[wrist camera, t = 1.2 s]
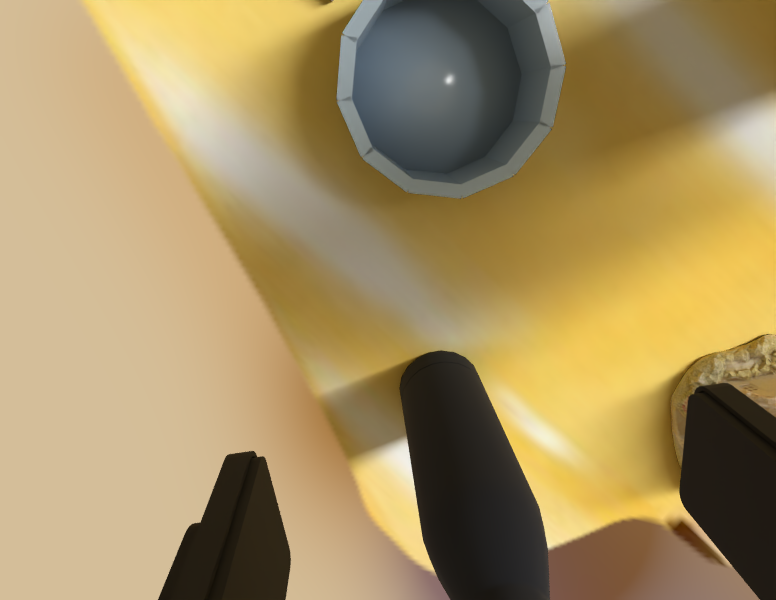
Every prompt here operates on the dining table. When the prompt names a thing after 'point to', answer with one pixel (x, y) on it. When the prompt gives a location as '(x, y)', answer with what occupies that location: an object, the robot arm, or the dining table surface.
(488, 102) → the bowl
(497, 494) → the black water bottle
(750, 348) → the ceramic model
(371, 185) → the dining table surface
